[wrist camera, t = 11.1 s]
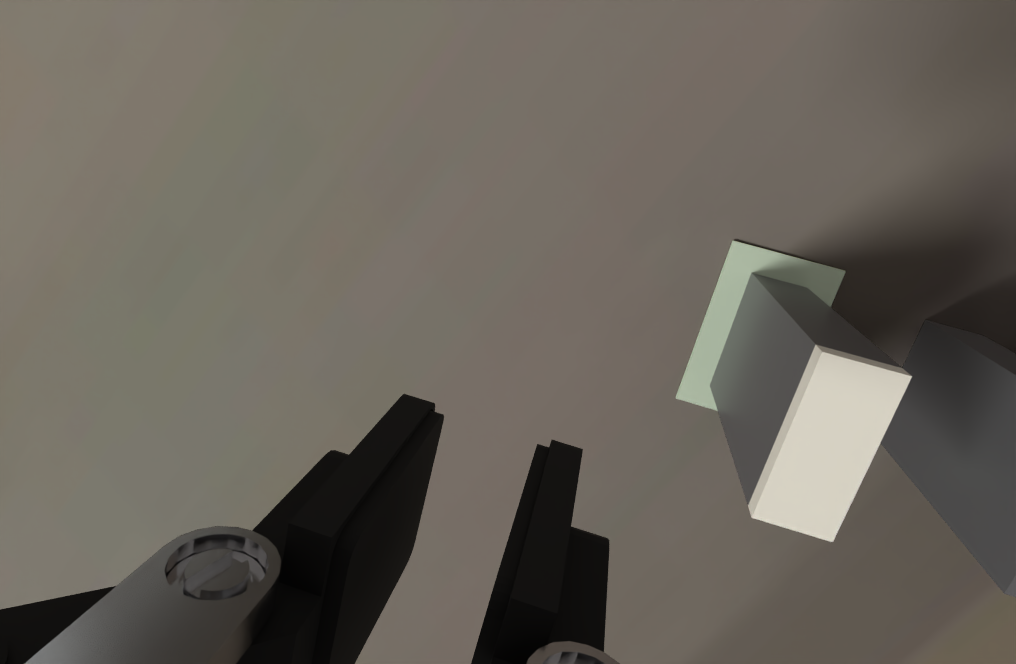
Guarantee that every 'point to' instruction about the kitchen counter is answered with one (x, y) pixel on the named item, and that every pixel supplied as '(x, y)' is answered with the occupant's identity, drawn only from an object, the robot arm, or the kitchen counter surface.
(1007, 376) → the domino
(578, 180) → the kitchen counter surface
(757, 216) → the kitchen counter surface
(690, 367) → the pad
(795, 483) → the domino
